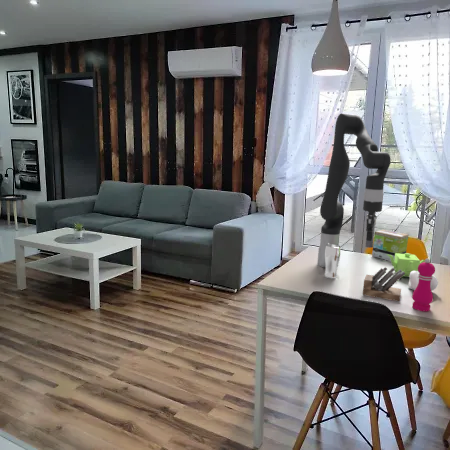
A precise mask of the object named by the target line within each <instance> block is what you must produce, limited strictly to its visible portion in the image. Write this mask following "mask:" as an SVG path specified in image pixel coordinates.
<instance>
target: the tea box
mask: <svg viewBox="0 0 450 450" xmlns="http://www.w3.org/2000/svg"><path fill="white" fill-rule="evenodd" d="M408 242H409V234H407V233H403V232H402V233H401V232H398V231H393V230H387V229H381V230H376V231H374V239H373V247H372V252H371V253H372V255H371V256H372V257H373V258H377V259H382V260H386V261H390V262H391V259H390V257H389V256H388V255H392V256H393V258H394V260H395V253H399V254H405V253H407V249H408ZM386 254H388V255H386Z"/></svg>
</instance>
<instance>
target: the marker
mask: <svg viewBox="0 0 450 450" xmlns="http://www.w3.org/2000/svg"><path fill="white" fill-rule="evenodd" d="M375 221H376V222H377V219H376V220H375ZM373 224H374V223H373ZM369 228H370V229H371V227H369ZM375 228H376V226H375V227H373V235H372V241H367V240H366V238H367V234H366V236H365V248H370V249H371V248H372V249H373V243H374V235H375Z"/></svg>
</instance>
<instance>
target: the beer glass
mask: <svg viewBox="0 0 450 450" xmlns="http://www.w3.org/2000/svg"><path fill="white" fill-rule="evenodd" d="M340 259H341V245H340V244H339V245H336V244H327V245H326V249H325V266H326V268H325V271H324V274H323V277H324V278H327V279H331V280H334V279H338V266H339V264H340Z"/></svg>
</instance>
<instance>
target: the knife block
mask: <svg viewBox="0 0 450 450" xmlns="http://www.w3.org/2000/svg"><path fill="white" fill-rule="evenodd" d="M387 270H388V268H387V267H386V266H385V267H384V268H382V267H381V268H380V269H379V270H378V271H377V272H376V273H375V274H374V275H372V274H366V275H365V277H364V279H363V287H362V295H364V296H366V297H368V296H369V297H372V298H378V299H383V300H390V301H394V302H400V300H401V295H402V293H401V292H402V288H398V287H393V286H394V285H395V284H396V283H397V282H398V281H399V280H400V279H402V278H401V277H402V276H403V275H404V274H405V273H404V272H402V270H399V271H398V272H397V273H396V272H395V271H394V270H395V269H394V267H391V269H389V271H387ZM394 272H395V273H396V274H395V273H394ZM401 272H402V273H401ZM403 277H404V276H403Z"/></svg>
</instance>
